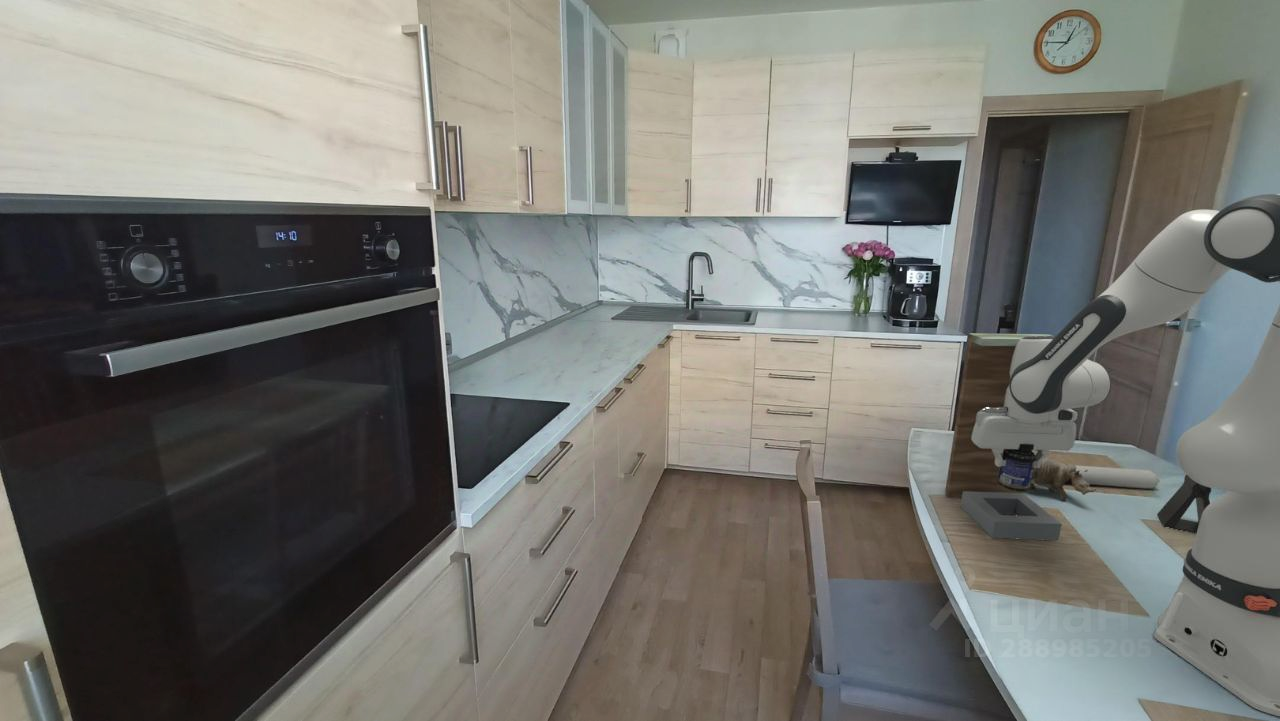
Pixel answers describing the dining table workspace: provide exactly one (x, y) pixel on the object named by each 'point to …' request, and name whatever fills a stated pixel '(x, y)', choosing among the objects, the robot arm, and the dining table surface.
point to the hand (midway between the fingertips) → (1016, 466)
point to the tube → (1118, 477)
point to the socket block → (1010, 516)
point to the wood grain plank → (979, 390)
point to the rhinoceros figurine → (1059, 478)
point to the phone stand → (1185, 506)
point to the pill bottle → (1017, 468)
